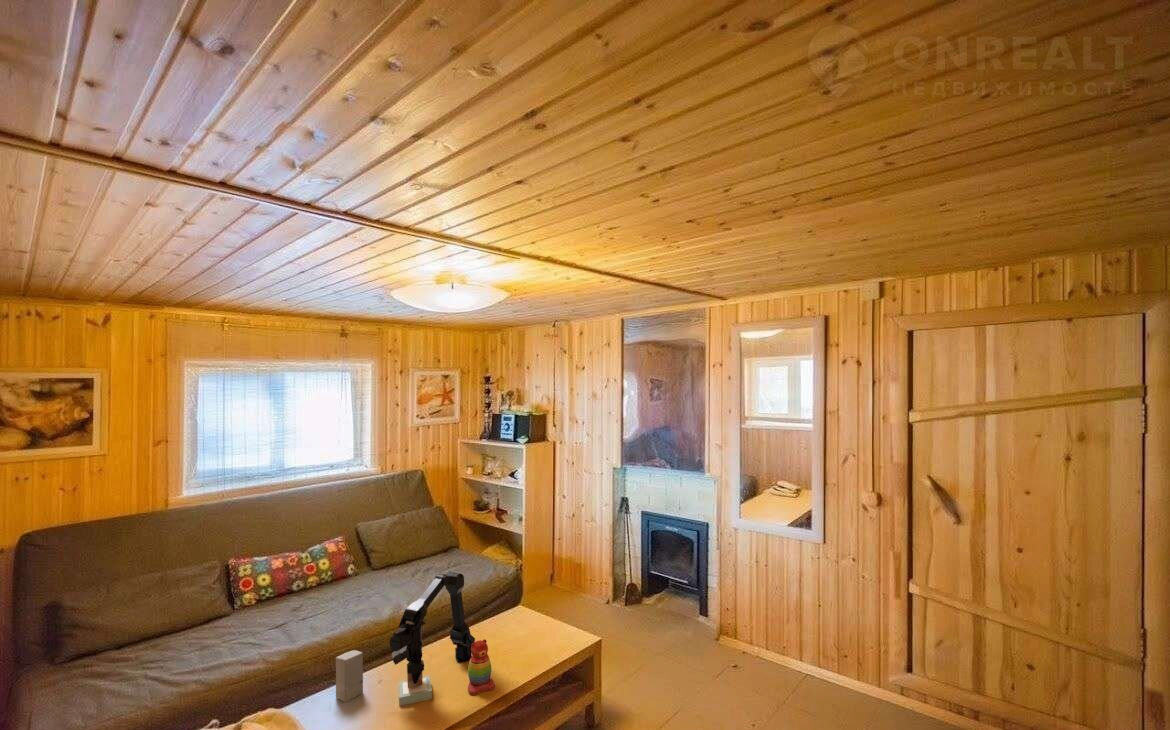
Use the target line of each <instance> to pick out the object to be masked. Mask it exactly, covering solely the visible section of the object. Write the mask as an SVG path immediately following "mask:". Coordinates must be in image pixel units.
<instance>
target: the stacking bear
mask: <svg viewBox="0 0 1170 730" xmlns="http://www.w3.org/2000/svg"><path fill="white" fill-rule="evenodd" d="M488 651H489V647H488V644H487V640H486V639H482V640H480V639H479V640H475V642H474V643H472V645H471V656H472V657H471V659H470V660H469V662H468V666H467V676H468V679H469V680H468V681H469V682H468V686H467V691H468V694H469V695H471V696H475V695H478V694H480V693H482V692H486V691H492V690H493V691H494V690H495V688H496V683H495V681H494V680H493V679H492V678H491V675H492V662H491V659H490V656H489V653H488Z"/></svg>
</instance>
